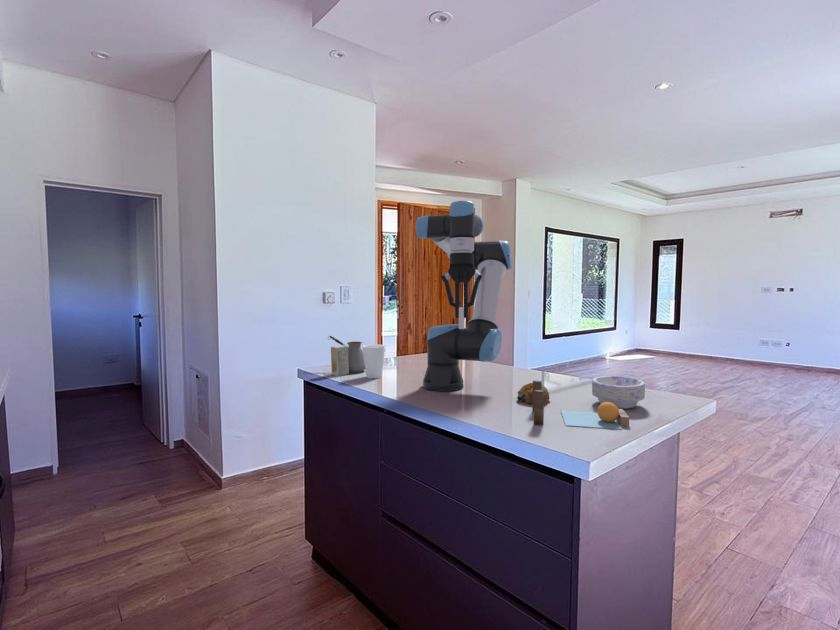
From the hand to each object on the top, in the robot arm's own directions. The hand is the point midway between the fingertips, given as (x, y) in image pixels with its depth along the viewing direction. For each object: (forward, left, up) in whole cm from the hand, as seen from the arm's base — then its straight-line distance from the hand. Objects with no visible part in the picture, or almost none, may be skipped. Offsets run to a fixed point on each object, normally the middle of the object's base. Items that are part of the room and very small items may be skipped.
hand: (461, 328), depth 139 cm
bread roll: (-10, +22, -25) cm, 35 cm away
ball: (+9, +42, -22) cm, 48 cm away
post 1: (+2, +23, -24) cm, 34 cm away
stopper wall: (+8, +46, -24) cm, 52 cm away
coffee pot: (-48, -58, -25) cm, 79 cm away
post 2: (+14, +23, -24) cm, 36 cm away
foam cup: (-36, -41, -25) cm, 60 cm away
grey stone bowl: (-10, +48, -25) cm, 55 cm away
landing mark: (+8, +37, -24) cm, 45 cm away
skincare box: (-38, -57, -25) cm, 73 cm away
